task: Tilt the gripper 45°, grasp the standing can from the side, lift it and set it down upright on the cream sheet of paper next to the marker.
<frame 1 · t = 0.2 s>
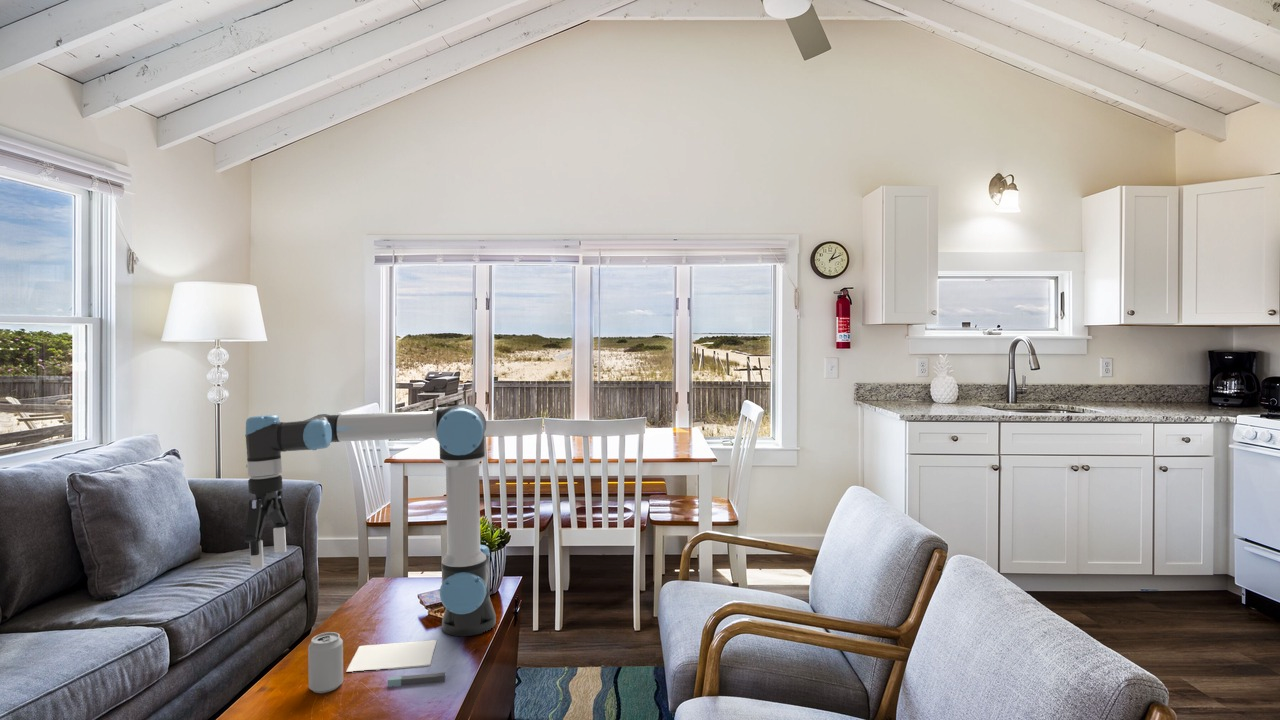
hand: (269, 559, 168), 27 cm above the table, tool pointing down, fingers open, 13 cm apart
can: (326, 687, 157), on the table
paper: (393, 656, 172), on the table
marker: (416, 683, 159), on the table
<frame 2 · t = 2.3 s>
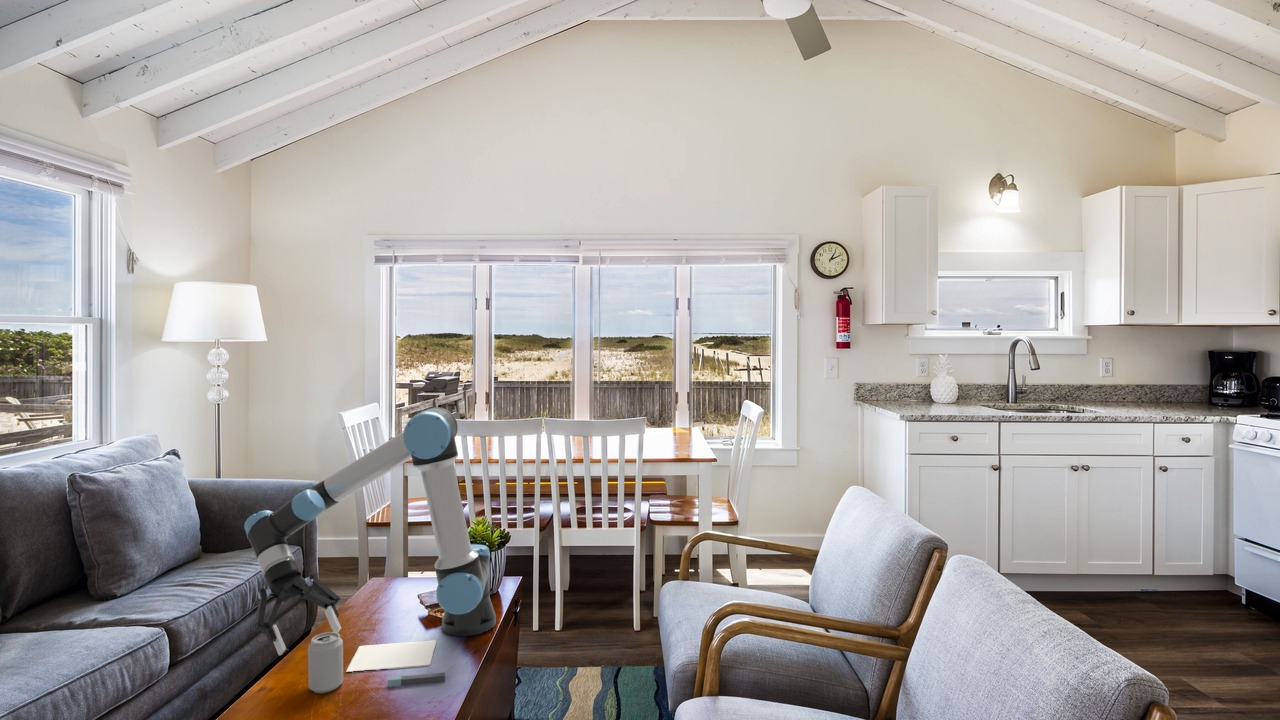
hand: (311, 641, 159), 10 cm above the table, tool tilted 45°, fingers open, 13 cm apart
nothing on the table moved.
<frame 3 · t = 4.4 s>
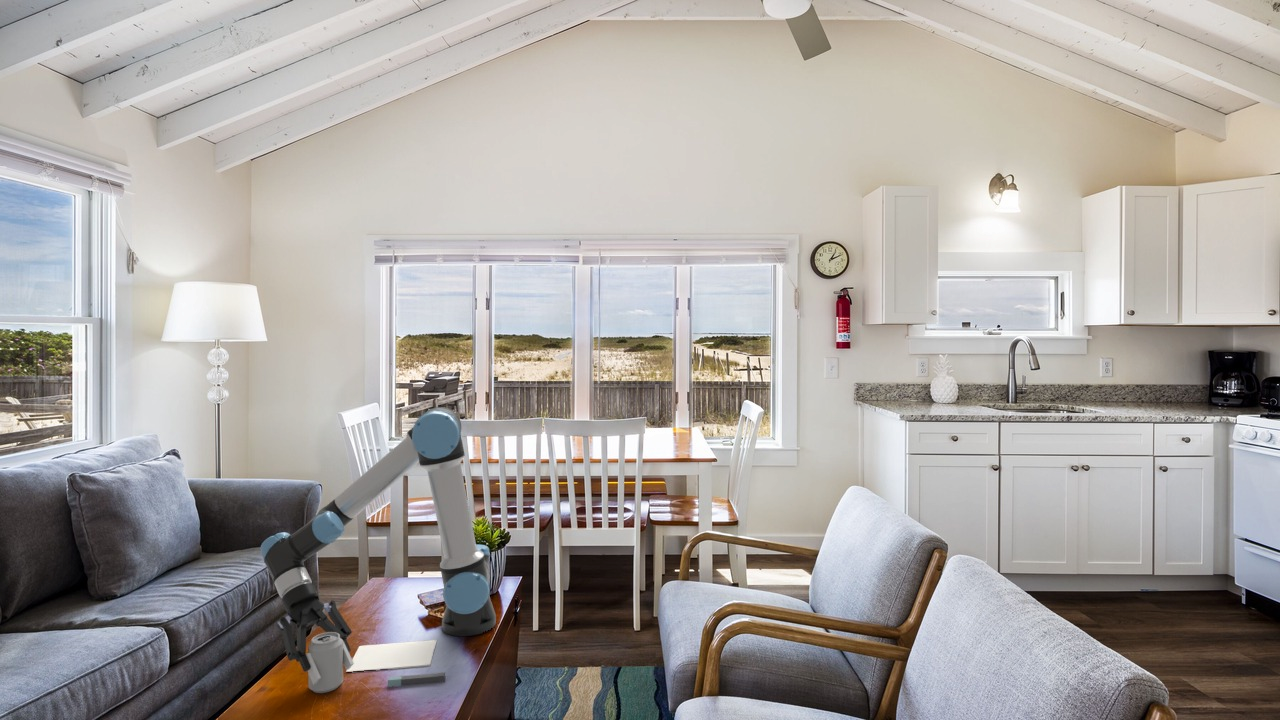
hand: (334, 673, 155), 4 cm above the table, tool tilted 45°, fingers closed on can, 7 cm apart
can: (326, 687, 157), on the table, touching gripper
everything else where it was.
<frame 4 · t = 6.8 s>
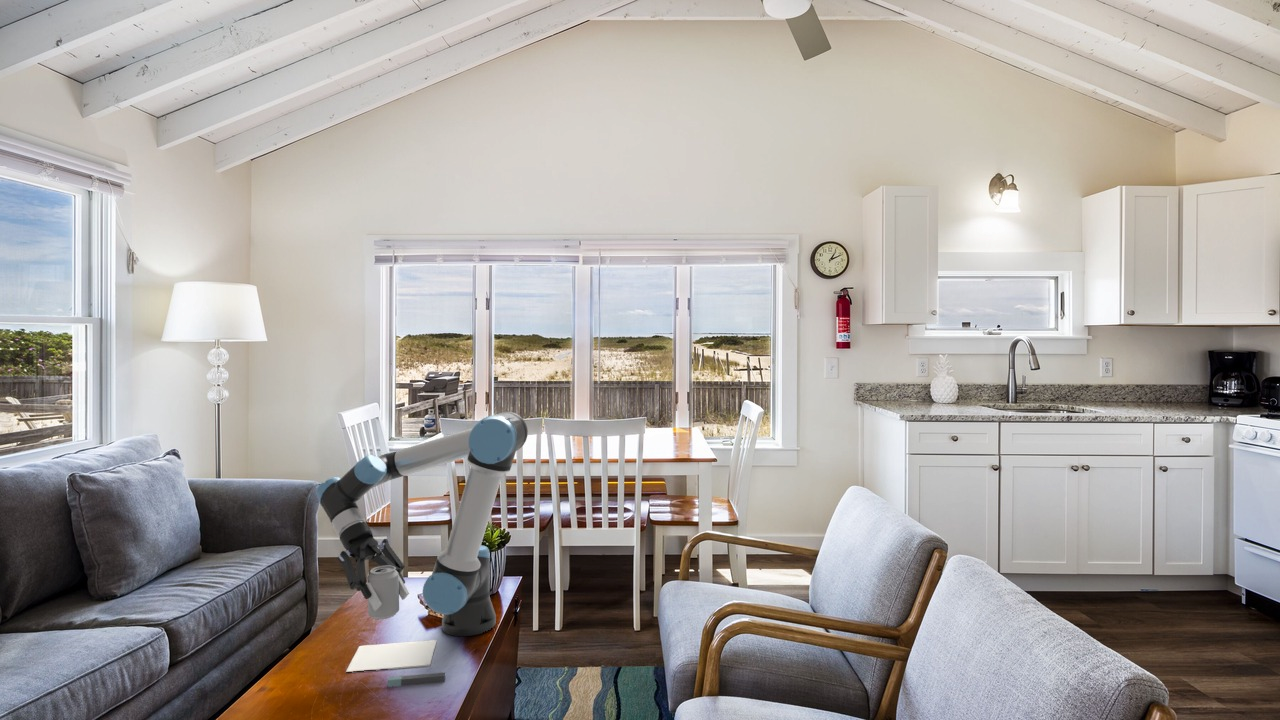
hand: (392, 601, 168), 16 cm above the table, tool tilted 45°, fingers closed on can, 7 cm apart
can: (383, 615, 170), point 12 cm above the table, touching gripper
everything else where it was.
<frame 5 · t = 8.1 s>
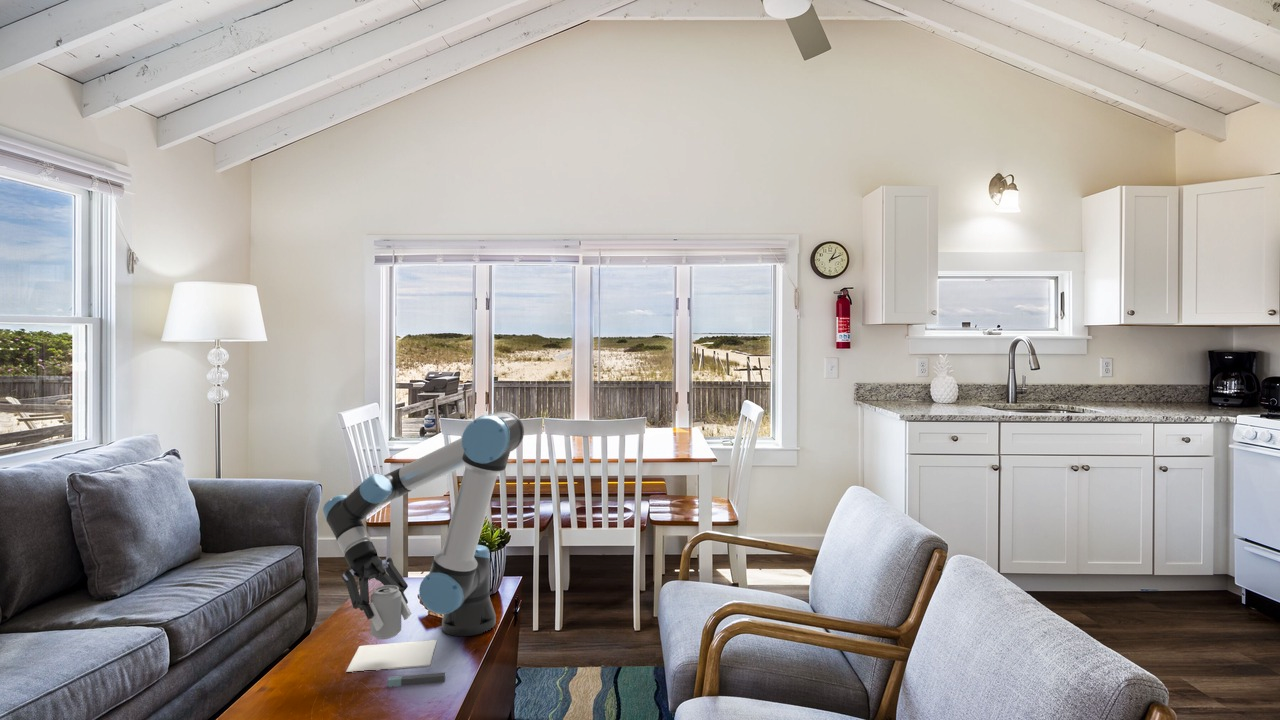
hand: (394, 622, 169), 10 cm above the table, tool tilted 45°, fingers closed on can, 7 cm apart
can: (386, 635, 171), point 6 cm above the table, touching gripper
everything else where it was.
when the fingers open (6 cm above the table, at t = 9.3 s): can drops 1 cm, resting on paper.
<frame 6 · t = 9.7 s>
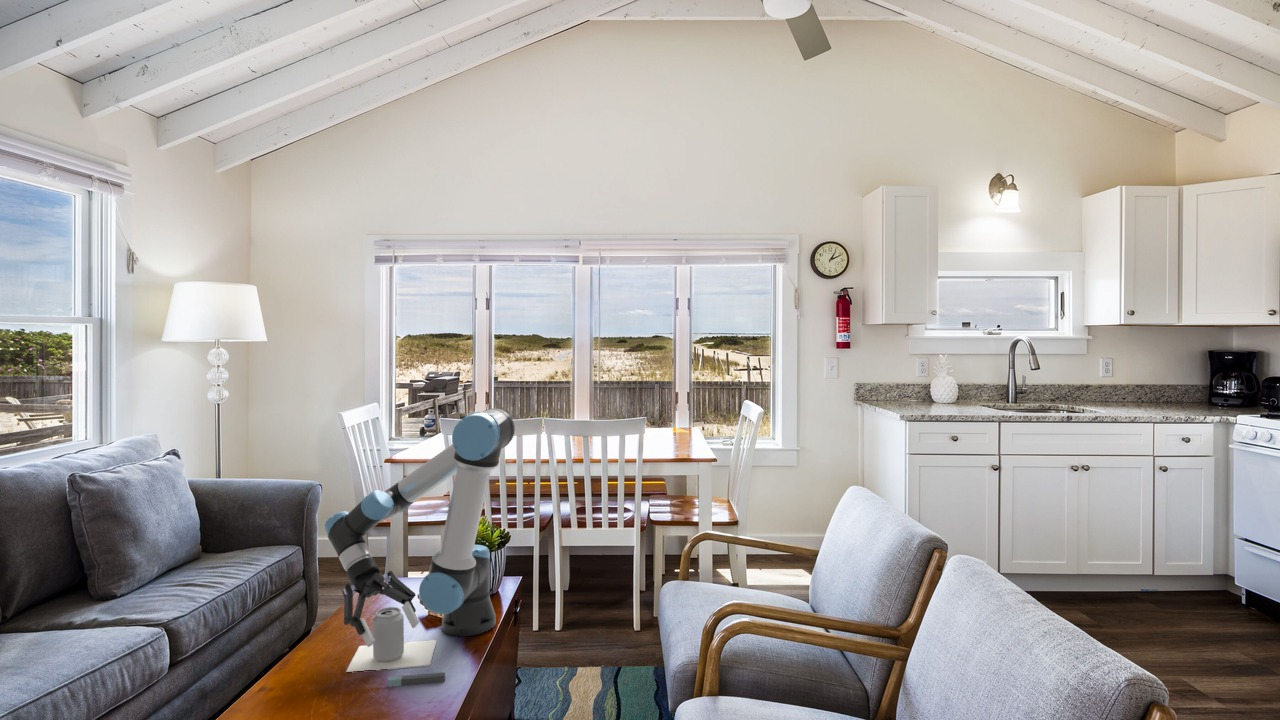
hand: (394, 634, 170), 7 cm above the table, tool tilted 45°, fingers open, 12 cm apart
can: (388, 657, 171), resting on paper
everything else where it was.
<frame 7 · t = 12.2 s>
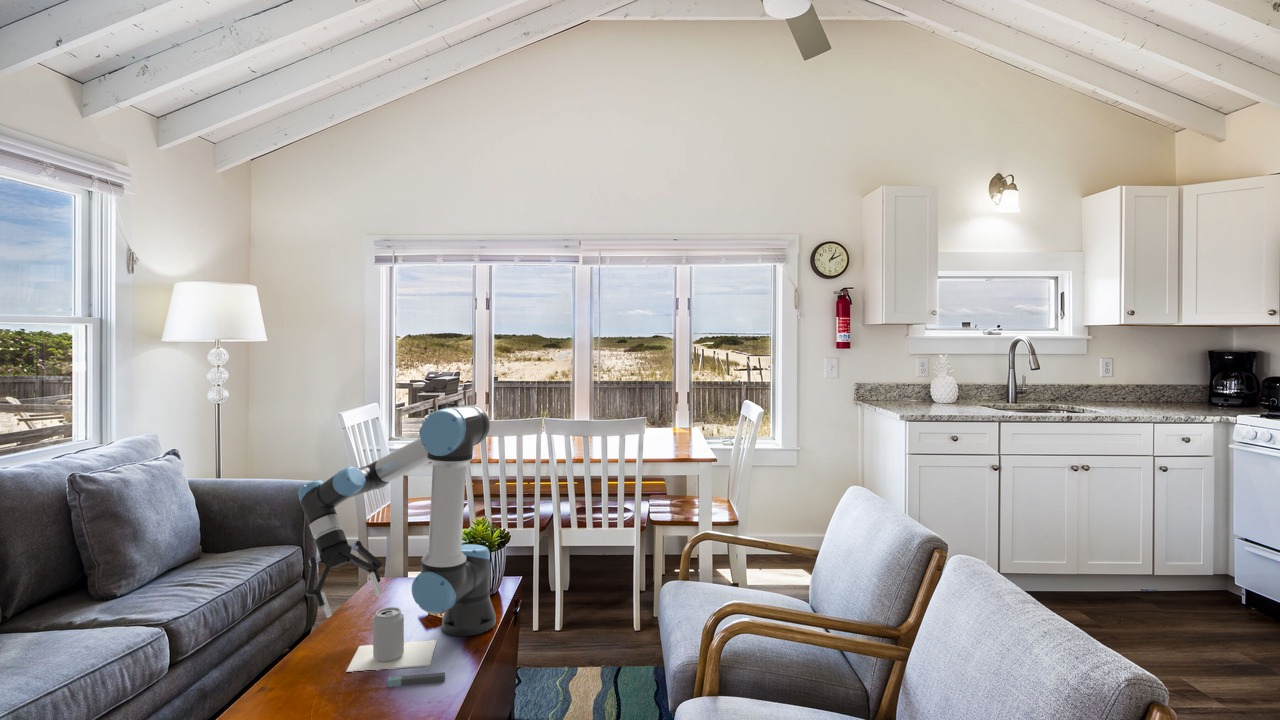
hand: (355, 605, 180), 10 cm above the table, tool tilted 35°, fingers open, 13 cm apart
nothing on the table moved.
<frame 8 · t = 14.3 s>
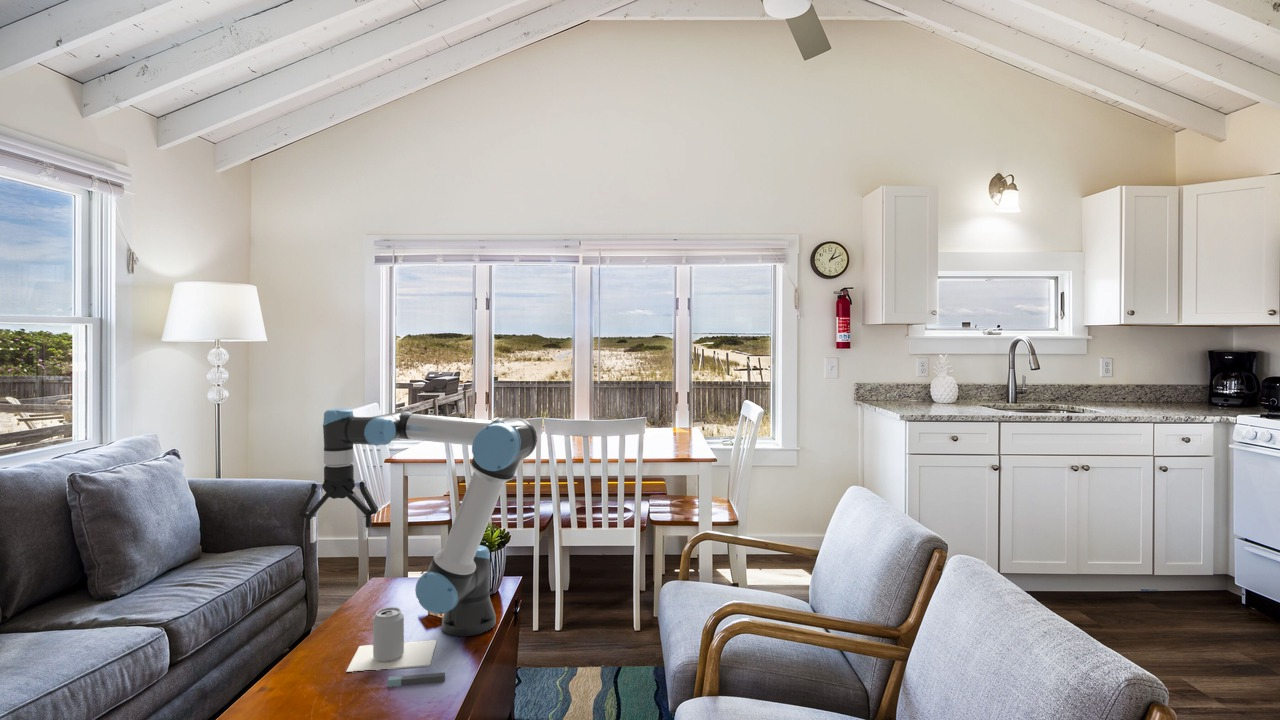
hand: (339, 540, 184), 27 cm above the table, tool pointing down, fingers open, 13 cm apart
nothing on the table moved.
at the end: can inside the target area on the paper (1.4 cm from its centre), point 0.2 cm above the paper's base; can tilted 0°; the gripper is holding nothing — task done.
